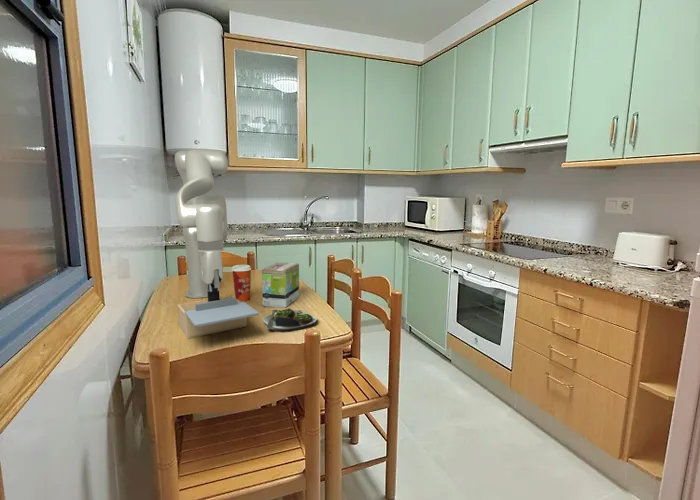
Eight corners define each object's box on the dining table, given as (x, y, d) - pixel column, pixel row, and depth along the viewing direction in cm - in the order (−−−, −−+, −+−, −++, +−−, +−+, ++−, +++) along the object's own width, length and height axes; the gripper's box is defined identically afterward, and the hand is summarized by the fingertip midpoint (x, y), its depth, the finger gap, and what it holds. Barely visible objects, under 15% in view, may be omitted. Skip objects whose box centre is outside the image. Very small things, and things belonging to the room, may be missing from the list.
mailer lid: (184, 313, 112) (184, 304, 112) (243, 303, 122) (243, 295, 122) (195, 327, 101) (194, 317, 100) (258, 314, 111) (258, 306, 110)
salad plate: (252, 318, 130) (251, 305, 129) (299, 310, 139) (299, 298, 138) (271, 337, 113) (270, 322, 113) (323, 326, 123) (323, 313, 122)
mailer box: (178, 324, 123) (177, 304, 122) (233, 314, 133) (232, 295, 132) (187, 338, 111) (186, 316, 110) (246, 326, 121) (245, 305, 120)
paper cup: (242, 303, 146) (240, 268, 143) (229, 300, 150) (227, 266, 147) (257, 299, 152) (255, 265, 150) (243, 296, 156) (242, 263, 154)
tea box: (286, 308, 140) (285, 270, 138) (262, 306, 142) (260, 268, 140) (299, 297, 155) (299, 262, 153) (277, 295, 157) (276, 261, 155)
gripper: (192, 243, 119) (196, 299, 122) (204, 250, 107) (207, 311, 110) (216, 242, 123) (219, 295, 126) (230, 247, 111) (233, 307, 114)
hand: (214, 302), depth 118 cm, fingers closed
